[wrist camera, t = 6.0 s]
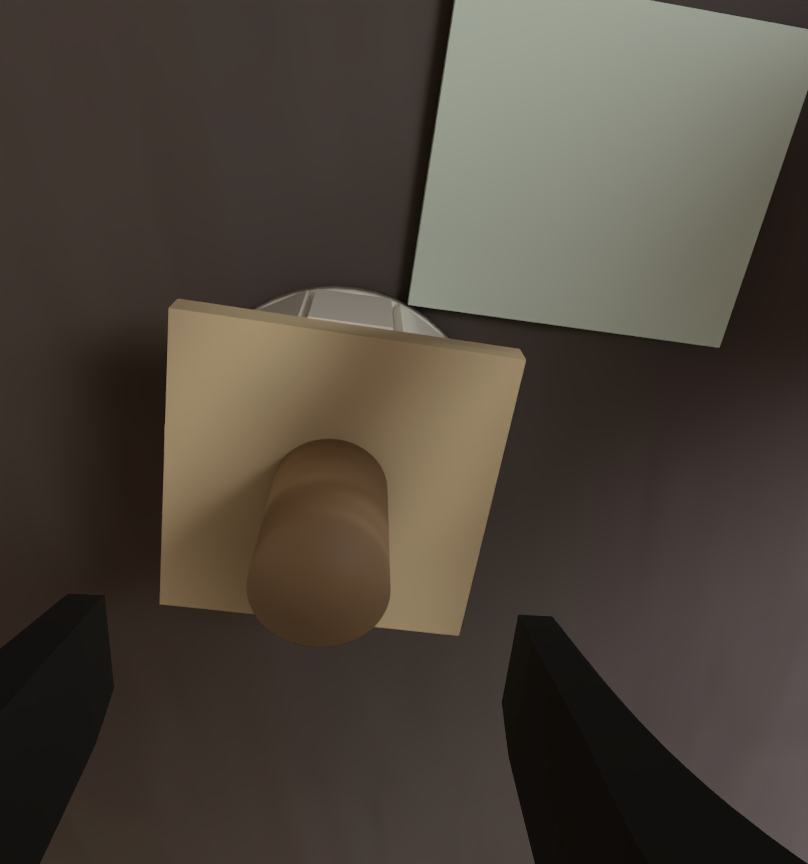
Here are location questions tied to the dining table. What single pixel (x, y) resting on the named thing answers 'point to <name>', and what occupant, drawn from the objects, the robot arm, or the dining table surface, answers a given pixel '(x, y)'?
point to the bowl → (351, 309)
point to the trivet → (604, 163)
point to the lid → (328, 470)
